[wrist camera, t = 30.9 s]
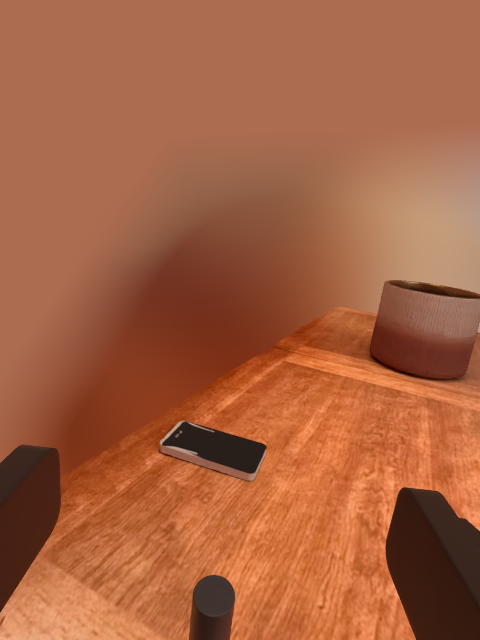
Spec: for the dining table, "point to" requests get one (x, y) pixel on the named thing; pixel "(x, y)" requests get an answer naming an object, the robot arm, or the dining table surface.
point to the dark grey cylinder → (212, 609)
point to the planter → (426, 329)
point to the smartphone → (214, 450)
